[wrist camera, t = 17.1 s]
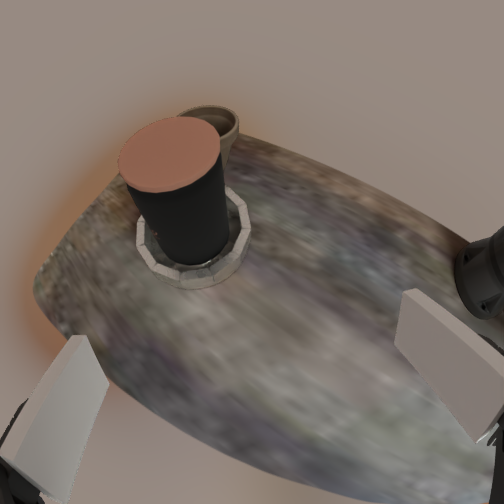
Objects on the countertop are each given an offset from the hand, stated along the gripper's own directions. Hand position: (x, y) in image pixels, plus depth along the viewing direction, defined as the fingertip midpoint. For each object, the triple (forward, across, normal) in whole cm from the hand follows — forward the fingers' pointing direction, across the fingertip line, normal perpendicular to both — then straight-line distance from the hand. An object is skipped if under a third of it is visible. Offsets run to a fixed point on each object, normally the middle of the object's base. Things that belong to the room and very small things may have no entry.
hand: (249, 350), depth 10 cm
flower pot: (+44, -3, +8) cm, 44 cm away
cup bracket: (+33, -6, -3) cm, 33 cm away
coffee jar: (+32, -6, -3) cm, 33 cm away
